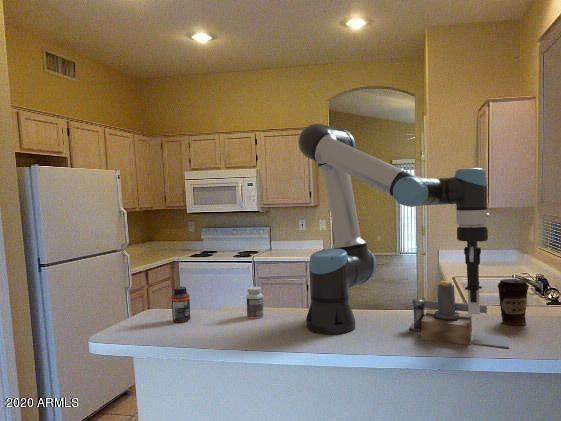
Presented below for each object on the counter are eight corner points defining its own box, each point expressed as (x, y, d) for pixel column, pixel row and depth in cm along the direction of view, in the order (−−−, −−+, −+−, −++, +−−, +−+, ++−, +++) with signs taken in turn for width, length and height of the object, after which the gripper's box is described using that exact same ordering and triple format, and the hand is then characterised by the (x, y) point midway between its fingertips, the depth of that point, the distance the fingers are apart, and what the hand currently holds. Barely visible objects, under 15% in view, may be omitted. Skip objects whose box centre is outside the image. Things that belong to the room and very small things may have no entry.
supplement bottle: (177, 318, 139) (176, 285, 139) (193, 318, 138) (192, 285, 138) (169, 323, 133) (168, 289, 133) (185, 323, 132) (184, 289, 132)
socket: (421, 339, 110) (421, 320, 110) (427, 326, 121) (427, 310, 121) (469, 344, 105) (469, 325, 105) (471, 331, 115) (471, 314, 115)
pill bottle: (248, 314, 141) (247, 286, 141) (264, 314, 140) (263, 286, 140) (245, 319, 135) (244, 289, 135) (262, 319, 135) (261, 289, 134)
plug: (433, 337, 112) (432, 283, 111) (436, 330, 117) (434, 279, 117) (458, 340, 108) (457, 284, 108) (460, 333, 114) (458, 280, 114)
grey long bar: (411, 307, 119) (411, 300, 119) (413, 304, 122) (413, 298, 122) (486, 314, 109) (486, 307, 109) (486, 311, 112) (486, 304, 112)
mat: (474, 344, 105) (474, 342, 105) (475, 334, 112) (475, 333, 112) (509, 348, 101) (509, 346, 101) (508, 338, 108) (508, 337, 108)
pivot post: (409, 329, 118) (408, 308, 118) (412, 325, 123) (411, 304, 123) (427, 332, 116) (426, 310, 116) (429, 327, 120) (428, 306, 120)
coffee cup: (535, 328, 116) (534, 283, 116) (504, 327, 118) (503, 283, 118) (523, 319, 125) (522, 277, 125) (494, 318, 127) (493, 277, 126)
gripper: (487, 227, 100) (489, 321, 101) (488, 224, 112) (490, 308, 112) (454, 227, 104) (456, 318, 104) (458, 224, 115) (460, 306, 116)
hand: (474, 313), depth 108 cm, fingers closed
